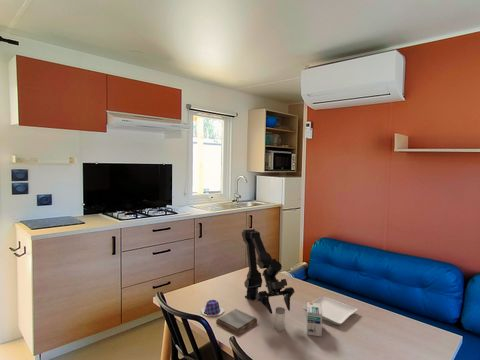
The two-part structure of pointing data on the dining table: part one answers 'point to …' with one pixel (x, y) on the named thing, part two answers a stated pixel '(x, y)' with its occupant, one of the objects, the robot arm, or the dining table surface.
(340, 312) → the salad plate
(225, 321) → the walnut stand
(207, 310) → the pudding
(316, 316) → the light bulb box
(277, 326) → the beige grey cylinder
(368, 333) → the dining table surface
